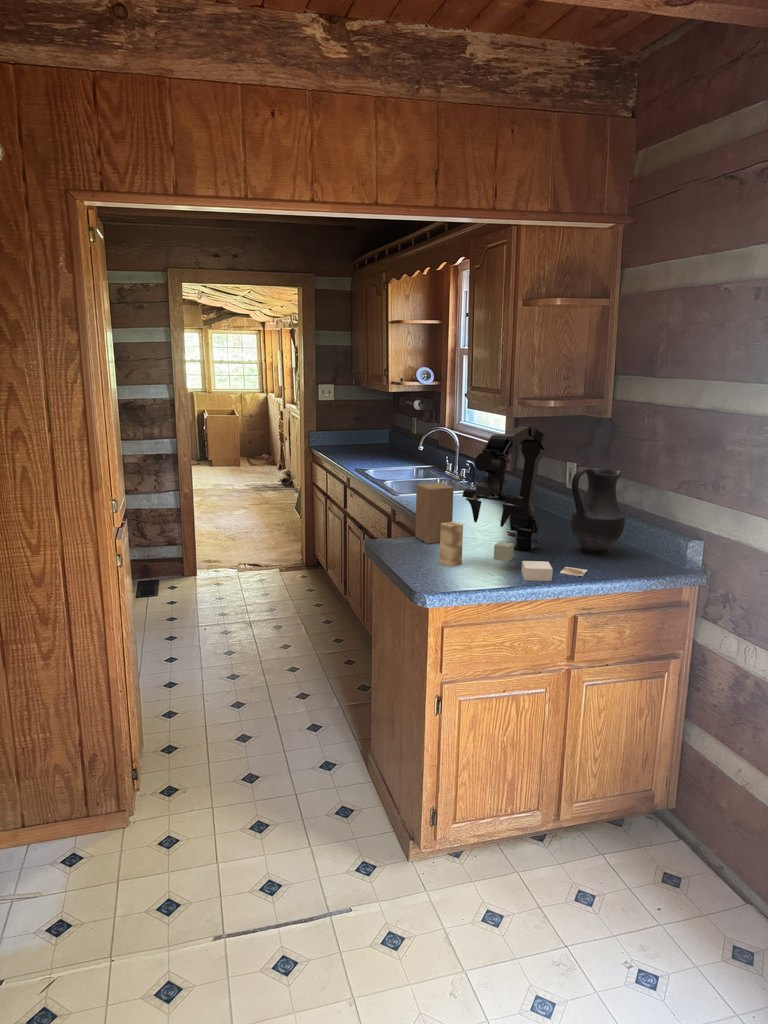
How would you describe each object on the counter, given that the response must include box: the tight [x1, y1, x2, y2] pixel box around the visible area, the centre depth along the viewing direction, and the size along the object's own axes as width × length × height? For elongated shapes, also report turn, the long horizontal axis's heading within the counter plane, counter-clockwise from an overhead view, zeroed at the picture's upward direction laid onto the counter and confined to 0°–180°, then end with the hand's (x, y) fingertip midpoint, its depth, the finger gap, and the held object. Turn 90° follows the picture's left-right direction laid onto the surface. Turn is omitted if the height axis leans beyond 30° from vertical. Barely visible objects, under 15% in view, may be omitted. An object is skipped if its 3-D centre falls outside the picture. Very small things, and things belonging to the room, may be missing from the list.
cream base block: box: [520, 560, 554, 582], centre depth 217 cm, size 8×8×4 cm
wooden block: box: [414, 482, 454, 545], centre depth 257 cm, size 10×10×20 cm
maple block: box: [439, 521, 464, 567], centre depth 228 cm, size 5×5×13 cm
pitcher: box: [570, 466, 626, 557], centre depth 240 cm, size 17×21×30 cm
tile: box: [559, 566, 588, 578], centre depth 222 cm, size 7×7×1 cm
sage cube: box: [493, 541, 515, 562], centre depth 235 cm, size 5×5×5 cm
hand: (488, 524), depth 224 cm, fingers open, 9 cm apart
